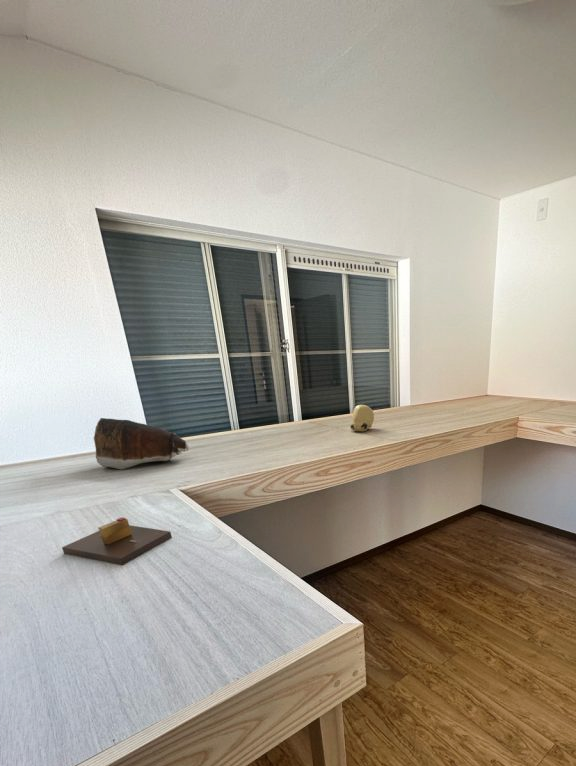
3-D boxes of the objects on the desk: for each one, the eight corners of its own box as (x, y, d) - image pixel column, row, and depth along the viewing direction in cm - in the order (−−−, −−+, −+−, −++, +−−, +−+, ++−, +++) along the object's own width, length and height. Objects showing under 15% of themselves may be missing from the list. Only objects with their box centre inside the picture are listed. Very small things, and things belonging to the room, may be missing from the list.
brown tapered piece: (186, 427, 129) (92, 417, 121) (185, 476, 132) (93, 469, 124) (192, 425, 143) (107, 416, 134) (191, 469, 146) (108, 463, 138)
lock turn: (108, 544, 75) (102, 527, 73) (103, 543, 75) (97, 526, 74) (131, 534, 78) (127, 517, 77) (127, 533, 79) (122, 516, 78)
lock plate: (66, 562, 75) (61, 546, 74) (119, 536, 85) (115, 522, 84) (125, 573, 71) (120, 557, 70) (174, 545, 81) (170, 530, 79)
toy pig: (352, 437, 181) (343, 424, 171) (358, 413, 184) (349, 399, 175) (373, 438, 177) (365, 425, 168) (379, 413, 181) (371, 399, 171)
